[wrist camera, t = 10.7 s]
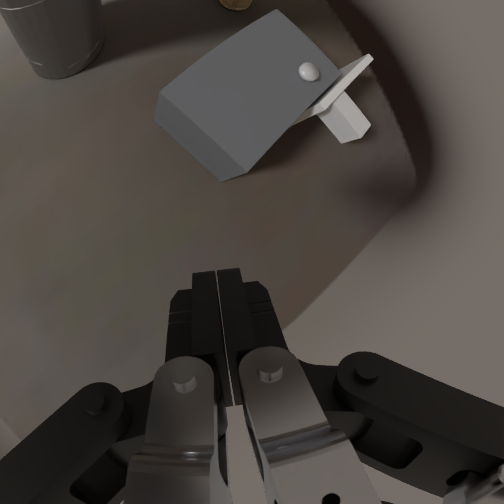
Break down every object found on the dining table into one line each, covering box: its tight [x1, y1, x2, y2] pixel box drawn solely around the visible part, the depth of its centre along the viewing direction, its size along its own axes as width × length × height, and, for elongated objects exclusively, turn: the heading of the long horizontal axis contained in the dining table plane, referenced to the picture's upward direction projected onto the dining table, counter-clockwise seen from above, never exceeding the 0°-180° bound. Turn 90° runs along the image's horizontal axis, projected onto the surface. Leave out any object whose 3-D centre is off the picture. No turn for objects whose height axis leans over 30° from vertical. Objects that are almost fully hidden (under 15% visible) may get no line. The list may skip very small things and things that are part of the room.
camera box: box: [154, 9, 342, 182], centre depth 27 cm, size 10×17×9 cm, turn 138°
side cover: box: [290, 54, 373, 143], centre depth 31 cm, size 6×12×8 cm, turn 138°
